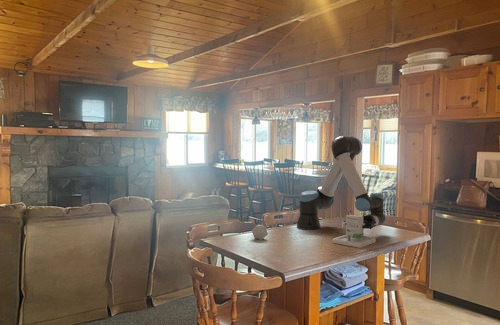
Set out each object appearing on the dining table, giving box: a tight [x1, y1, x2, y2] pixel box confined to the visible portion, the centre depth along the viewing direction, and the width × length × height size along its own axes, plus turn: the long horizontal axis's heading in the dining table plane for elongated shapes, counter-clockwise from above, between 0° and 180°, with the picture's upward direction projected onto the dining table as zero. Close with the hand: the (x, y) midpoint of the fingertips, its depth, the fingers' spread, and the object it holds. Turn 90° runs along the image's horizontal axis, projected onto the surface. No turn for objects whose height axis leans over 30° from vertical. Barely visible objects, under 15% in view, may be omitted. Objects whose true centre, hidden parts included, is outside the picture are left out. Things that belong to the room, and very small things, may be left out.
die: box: [251, 224, 269, 241], centre depth 213 cm, size 8×9×10 cm
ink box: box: [345, 214, 365, 239], centre depth 206 cm, size 9×5×12 cm, turn 39°
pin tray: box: [332, 234, 377, 248], centre depth 206 cm, size 16×18×5 cm
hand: (350, 226), depth 203 cm, fingers closed on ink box, 9 cm apart
